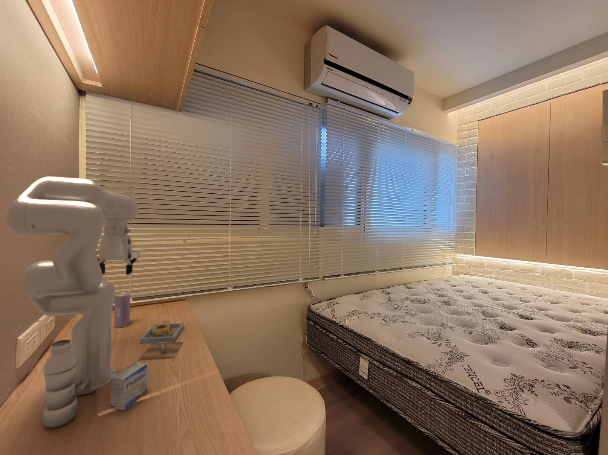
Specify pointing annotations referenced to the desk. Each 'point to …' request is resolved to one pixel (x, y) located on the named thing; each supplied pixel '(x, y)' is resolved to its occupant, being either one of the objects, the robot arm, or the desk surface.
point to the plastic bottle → (60, 385)
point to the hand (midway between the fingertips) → (115, 274)
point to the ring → (162, 329)
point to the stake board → (157, 350)
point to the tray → (146, 340)
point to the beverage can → (121, 309)
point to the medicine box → (128, 386)
